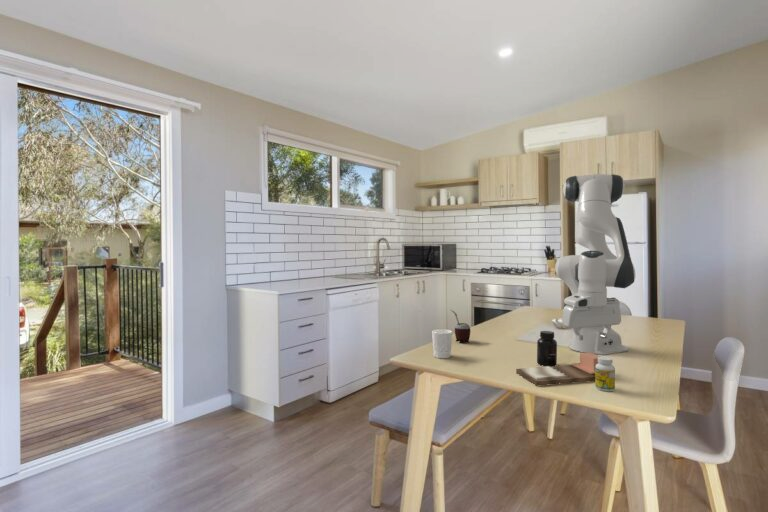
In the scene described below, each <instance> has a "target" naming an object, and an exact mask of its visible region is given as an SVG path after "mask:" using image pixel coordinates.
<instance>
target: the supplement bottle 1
mask: <svg viewBox="0 0 768 512" xmlns="http://www.w3.org/2000/svg"><path fill="white" fill-rule="evenodd" d="M539 333H540V334H539V337H540V338H538V339H537V342H536V343H537V344H536V362H537V363H536V364H537V365H539V364H540V366H542V365H543V366H542V367H545V366H555V365H556V366H557V364H558V362H557V361H558V360H557V358H558V342H557V340H556V339H554V338H555V332H554V331H552V330H551V331H550V330H541V331H540V332H539Z"/></svg>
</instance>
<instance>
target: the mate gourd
mask: <svg viewBox="0 0 768 512" xmlns="http://www.w3.org/2000/svg"><path fill="white" fill-rule="evenodd" d="M450 311H451V312H452V313H453V314H454V316H455V319H456V321H457V323H456V324H455V326H454V334H455V339H456V340H455V342H458V341H460V342H459V343H458V344H463V343H466V342H467V343H468V344H469V343H470V341H469V340H470V337H471V327H470V325H469V324H468V323H464V322H459V318H458V315H457V313H456V312H455V311H454V310H453V309H450ZM467 343H466V344H467Z"/></svg>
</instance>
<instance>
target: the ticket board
mask: <svg viewBox="0 0 768 512" xmlns="http://www.w3.org/2000/svg"><path fill="white" fill-rule="evenodd" d="M515 371H516V372H515V373H516V374H517V375H518V374H519V375H518V376H520V377H521V376H522V378H523V379H525V380H526V381H527V382H529V383H531V384H532V383H533V384H532V385H534V384H535V385H534V386H536V387H538V386H537V385H544V386H548V385H547V384H555V385H560V384H559V383H567V384H573V383H572V382H579V383H587V381H590V382H595V374H590V373H588V372H585V371H583V370H581V369H579V368H577V367H575V366H573V365H572V364H562V365H561V364H560V365H556V366H535V367H534V366H533V367H521V368H516V369H515Z"/></svg>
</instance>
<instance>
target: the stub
mask: <svg viewBox="0 0 768 512" xmlns="http://www.w3.org/2000/svg"><path fill="white" fill-rule="evenodd" d="M598 357H602V355H599V354H595V353H591V352H588V353H586V352H580V354H579V362H575V363H571V365H573V366H575V367H577V368H579V369H581V370H583V371H585V372H588V373H590V374H595V366H596V364H598V363H599V362H598Z"/></svg>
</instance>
